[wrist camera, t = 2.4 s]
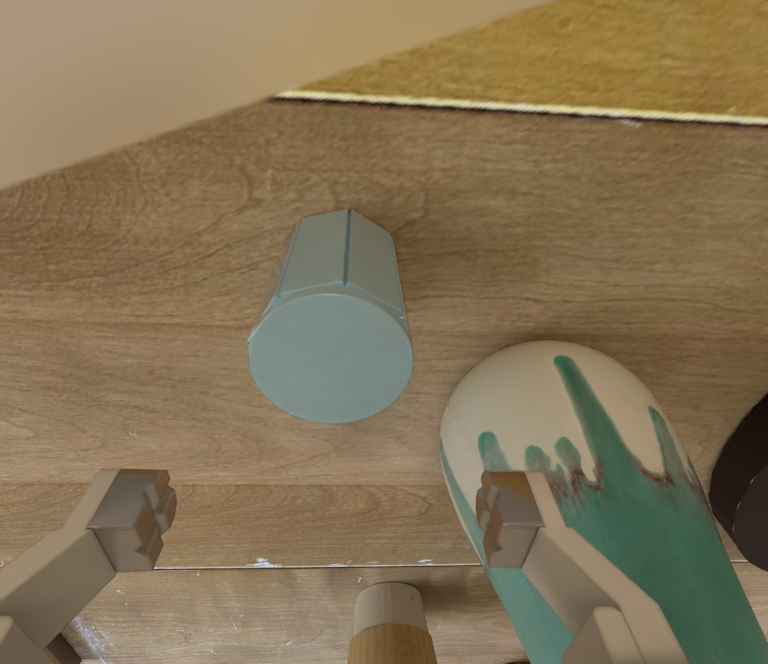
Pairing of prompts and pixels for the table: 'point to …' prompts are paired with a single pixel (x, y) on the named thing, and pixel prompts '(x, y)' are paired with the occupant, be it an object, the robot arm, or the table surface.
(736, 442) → the disc
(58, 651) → the cup rack
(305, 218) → the blue cup
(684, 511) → the vase
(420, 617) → the coffee cup
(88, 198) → the table surface
